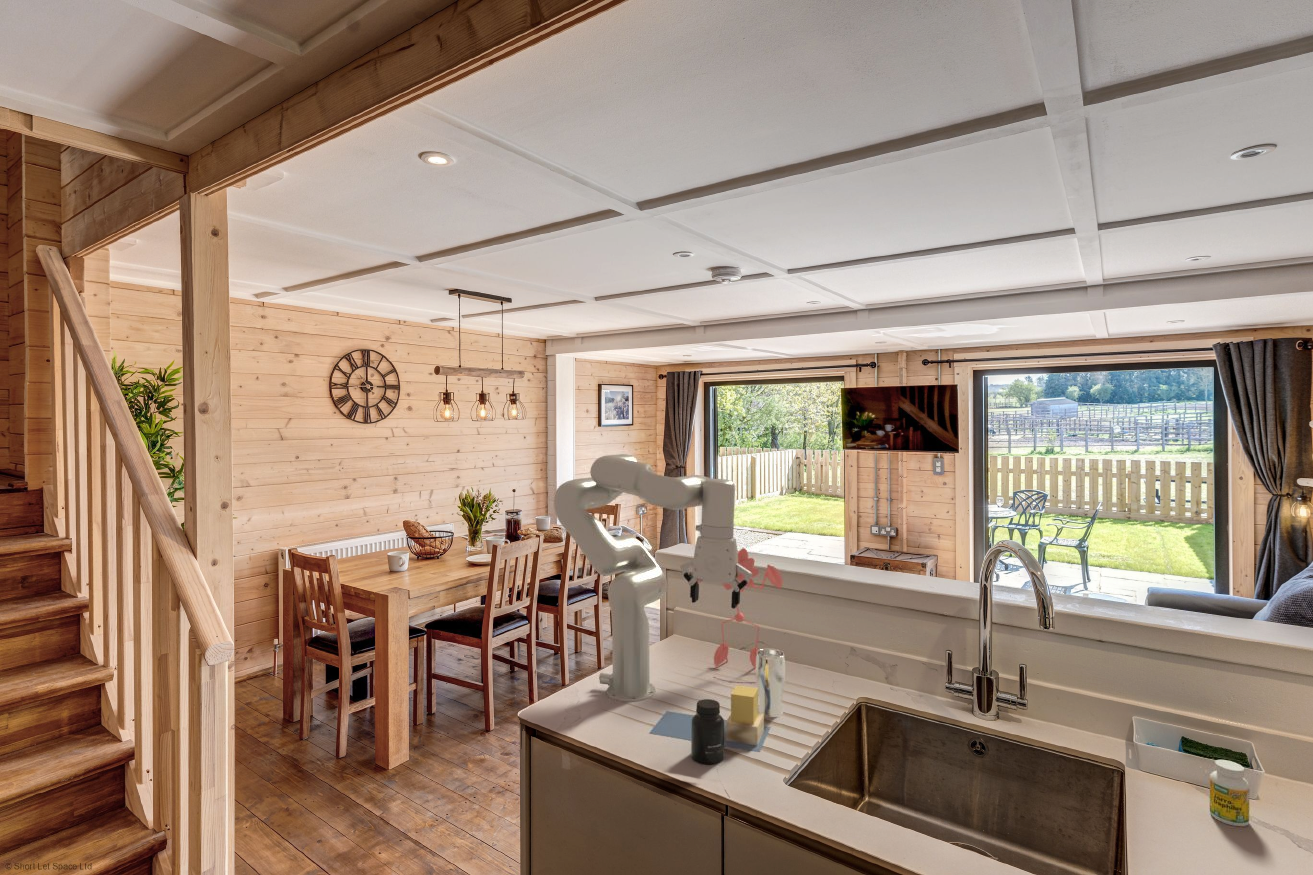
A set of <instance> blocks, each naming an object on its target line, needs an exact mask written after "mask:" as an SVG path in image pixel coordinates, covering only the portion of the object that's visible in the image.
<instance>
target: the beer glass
mask: <svg viewBox="0 0 1313 875" xmlns="http://www.w3.org/2000/svg"><path fill="white" fill-rule="evenodd" d="M755 677H756V678H755V680H756V686H757V688H758V713H763V714H764V717H766V718H778V717H781V716H782V715H784V710H783V701H782V700H783V699H782V698H783V692H784V686H785V680H786V660H785V653H784V651H783V650H780V649H777V648H770V647H768V648H767V647H766V648H760V649H759V650H758V651H757V657H756V669H755Z"/></svg>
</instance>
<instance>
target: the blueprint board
mask: <svg viewBox="0 0 1313 875" xmlns="http://www.w3.org/2000/svg"><path fill="white" fill-rule="evenodd" d="M694 715H695V714H690V713H689V714H688V713H682V712H675V711H671V710H669V711H668V710H666V712H665V713H663V715H662V717H660V718H659V720H658V721H657V722H656V724H655V725H654V726H653V728H652V729H651V730H650V731H649V733H648V734H650V735H657V736H662V737H668V738H675V739H680V740H686V741H691V727H692V718H693V716H694ZM726 721H727V720H726V719H724V747H727V748H733V749H740V750H746V751H752V752H756V753H760V752H761V750H762V748H763V745H764V743H765V740H766V739H767V736H768V734H769V732H770V730H771V726H765V725H764V732H763V734H762V737H761V739H760V741H759V743H758V746H757V745H751V744H745V743H739V742H733V741H727V740H726Z"/></svg>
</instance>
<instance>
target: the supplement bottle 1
mask: <svg viewBox="0 0 1313 875" xmlns="http://www.w3.org/2000/svg"><path fill="white" fill-rule="evenodd" d="M720 710H721V708H720V702H718V701H717V700H715V699H711V698H710V699H709V698H708V699H707V698H705V699H700V700H698V701H697V702H696V708H695V711H696V712H695V714H693V715H694V716H693V718H692V727H691V740H690V743H691V746H690V747H691V748H690V749H691V750H690V751H691V752H690V753H691V754H690V757H691V758H690V759H691V760H692V761H693V762H695V763H696V764H699V765H702V766H704V765H705V766H715V765H718V764H720V763H722V762H723V760H724V758H725V746H724V720H725V719H724V718H723V716H722V715H721V714H720V713H721V711H720Z"/></svg>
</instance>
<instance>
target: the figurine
mask: <svg viewBox="0 0 1313 875" xmlns="http://www.w3.org/2000/svg"><path fill="white" fill-rule="evenodd" d="M738 564H739V565H741V566H742V567H744V568H745V569H747V570H749V571H750V572H752V574H753V575H752V577H751V579H750V580H749V582H748V584H747V585H746V586H744V587H743V588H742V589H741V590H740V593H742V592H743V591H745V589H746V588H747V587H750V588H755V589H760V590H761V589H763V588H764V585H765V582H766V579H767V580H768V581H769V582H770V583H771V584H772V585H773V586H774V587H777V588H779V589H782V587H783V578H782V574H781V572H780V571H779V570H778V568H776V567H775V566H773V565H770V564H767V566H766V569H765V574H764V578H763V580H762V584H761V585H760V586H759V585H754V584H755V583H754V578H755V577H757V575H759V573H760V571H759V569H757V567H755V566H754V565H755V559H754V558H753V557H749V553H748V550H747V549H746V548H741V549H740V550H739V551H738ZM752 578H753V579H752ZM737 579H738V581H739V582H740V583H741V582H742V581H743V579H744V575H743V574H741V573H740V572H738V577H737ZM701 582H703V581H702V580H698V581H697V583H698V584H700V583H701ZM721 585H722V586H723V587H724V589H725V590H727V591H729V590H732V589H733V588H732V586H731V585H730V583H729V584H725V583H721ZM735 609H736V610H737V612H736V613H735V614H734V618H731V619H727V620H725V621H722V622H721V632H722V633H721V634H722V643H721V644H720V645H719V646H717V648H716V650H715V651H714V656H713V664H714V667H715V668H716V667H718V666H720V665H722V664H723V663H724V662H725V661H726V663H729V658H728V655H729V649H730V648H729V647H730V646H729V645H728V644H727V643H725V634H724V623H728V622H731V621H734V620H735V622H736V623H742V622H746V623H748V624H750V625H753V626H755V627H756V628H757V632H756V641H755V647H753V648H752V649H751V650H750V653H749V661H750V663H751V666H752V667H753V668H754V669H755V670H756V657H757V651H758V650H760V649H759V648H758V642H759V634H760V626H759V625H758V624H755V623H754V622H751V621H748V620H746V619H745V615H744V614H743V613H742V612H740V610H739V606H738V605H737V607H736V608H735ZM708 658H709V656H707V657H706V659H708ZM713 678H715V679H717V680H720V681H725V682H727V680H725V679H721V678H718V677H716V676H713ZM728 683H733V684H734V683H735V684H736V683H737V684H756V681H751V682H750V681H748V682H747V681H746V682H744V681H742V682H741V681H732V680H728Z"/></svg>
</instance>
